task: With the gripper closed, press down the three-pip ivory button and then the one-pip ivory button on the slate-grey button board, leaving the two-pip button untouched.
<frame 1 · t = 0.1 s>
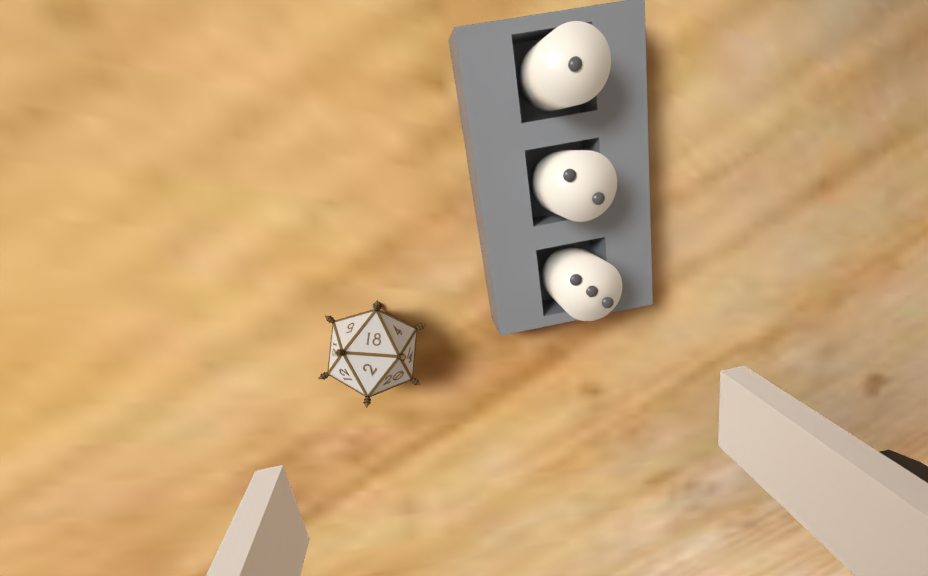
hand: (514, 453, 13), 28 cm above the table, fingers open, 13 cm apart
button board: (550, 179, 39), on the table
button 2: (571, 184, 34), point 5 cm above the table, slide at 0.0 cm
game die: (376, 331, 41), on the table
button 1: (562, 70, 31), point 5 cm above the table, slide at 0.0 cm
button 3: (579, 282, 36), point 5 cm above the table, slide at 0.0 cm
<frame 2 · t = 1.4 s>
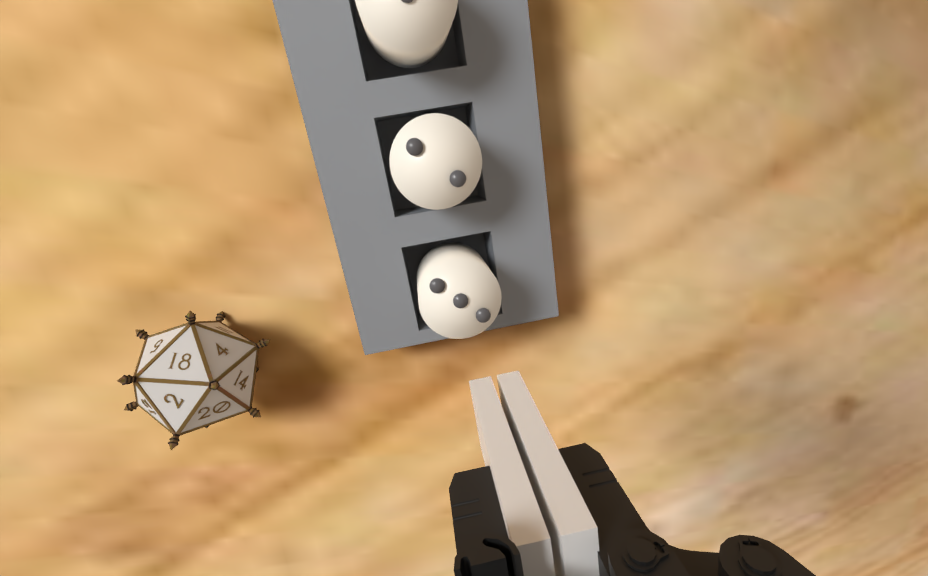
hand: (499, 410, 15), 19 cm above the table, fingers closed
button board: (429, 159, 31), on the table
button 2: (433, 161, 26), point 5 cm above the table, slide at 0.0 cm
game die: (223, 347, 33), on the table
button 1: (406, 7, 23), point 5 cm above the table, slide at 0.0 cm
button 3: (456, 288, 28), point 5 cm above the table, slide at 0.0 cm
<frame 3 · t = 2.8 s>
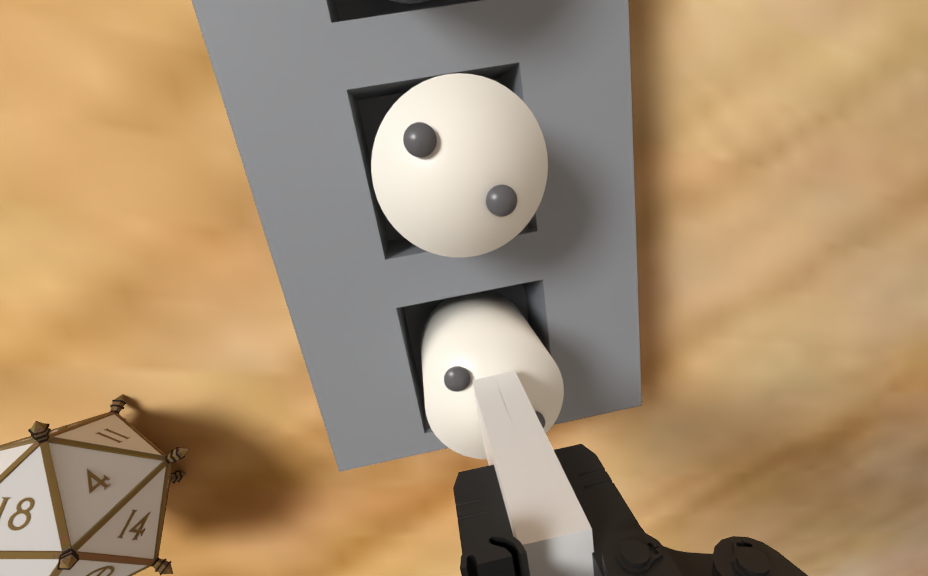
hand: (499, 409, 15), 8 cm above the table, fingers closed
button board: (440, 162, 20), on the table
button 2: (452, 167, 15), point 5 cm above the table, slide at 0.0 cm
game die: (129, 444, 22), on the table
button 3: (484, 367, 18), point 5 cm above the table, slide at 0.7 cm, touching gripper
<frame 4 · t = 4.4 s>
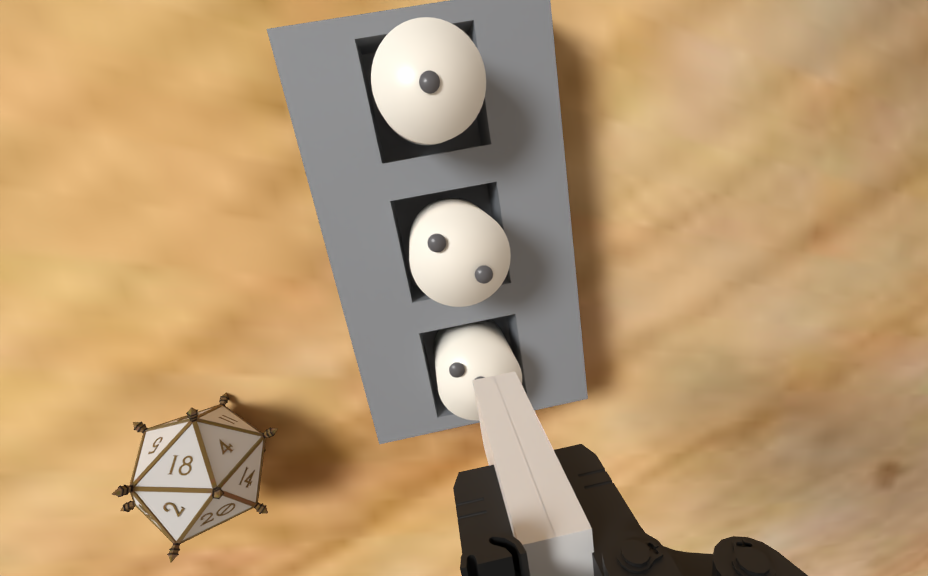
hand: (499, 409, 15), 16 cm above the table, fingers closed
button board: (447, 232, 29), on the table
button 2: (455, 248, 24), point 5 cm above the table, slide at 0.0 cm
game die: (227, 428, 31), on the table
button 1: (427, 90, 21), point 5 cm above the table, slide at 0.0 cm
button 3: (474, 364, 28), point 4 cm above the table, slide at 1.8 cm
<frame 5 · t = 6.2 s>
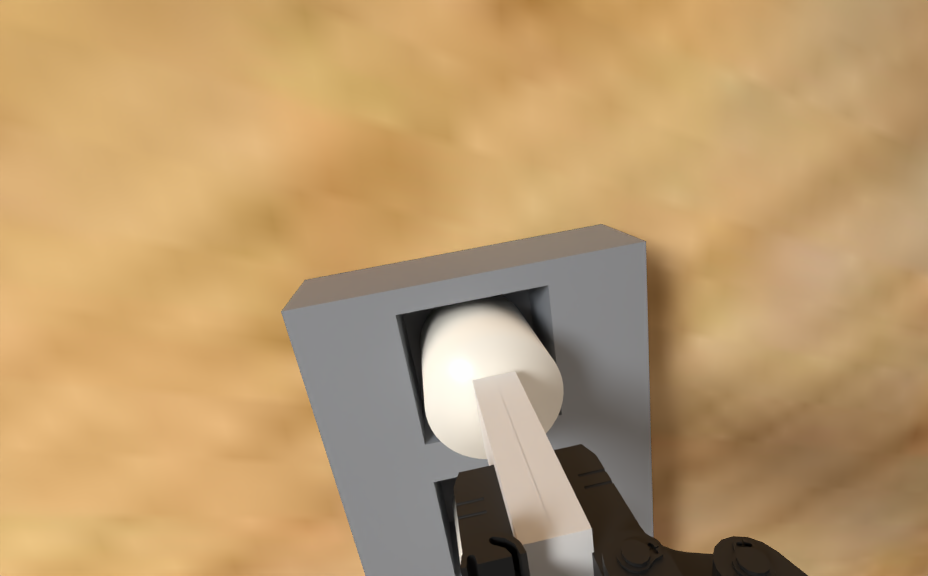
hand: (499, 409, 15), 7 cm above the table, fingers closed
button board: (492, 460, 24), on the table
button 2: (515, 544, 19), point 5 cm above the table, slide at 0.0 cm
button 1: (483, 367, 18), point 4 cm above the table, slide at 1.4 cm
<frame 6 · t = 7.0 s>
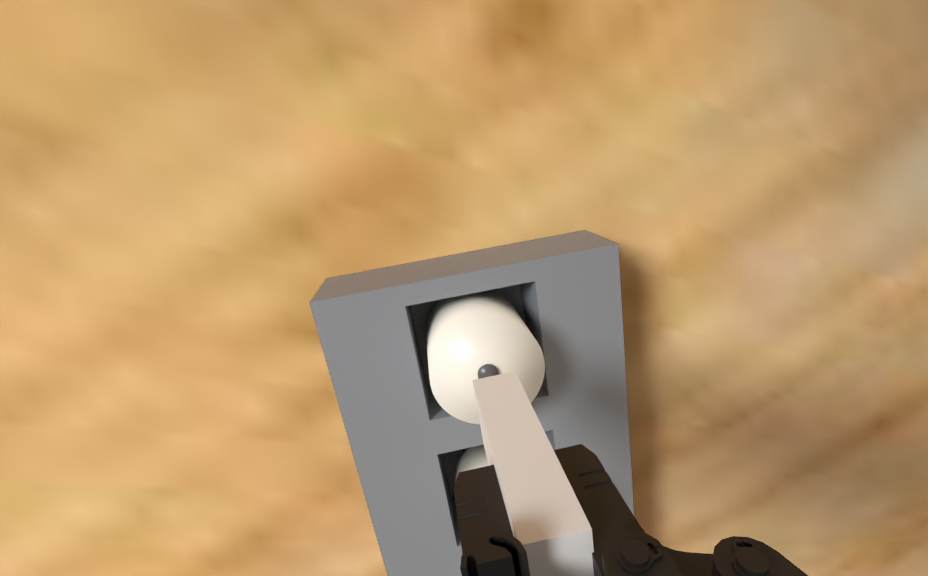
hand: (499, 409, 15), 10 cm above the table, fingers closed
button board: (490, 442, 27), on the table
button 2: (509, 509, 22), point 5 cm above the table, slide at 0.0 cm
button 1: (479, 349, 21), point 4 cm above the table, slide at 1.8 cm
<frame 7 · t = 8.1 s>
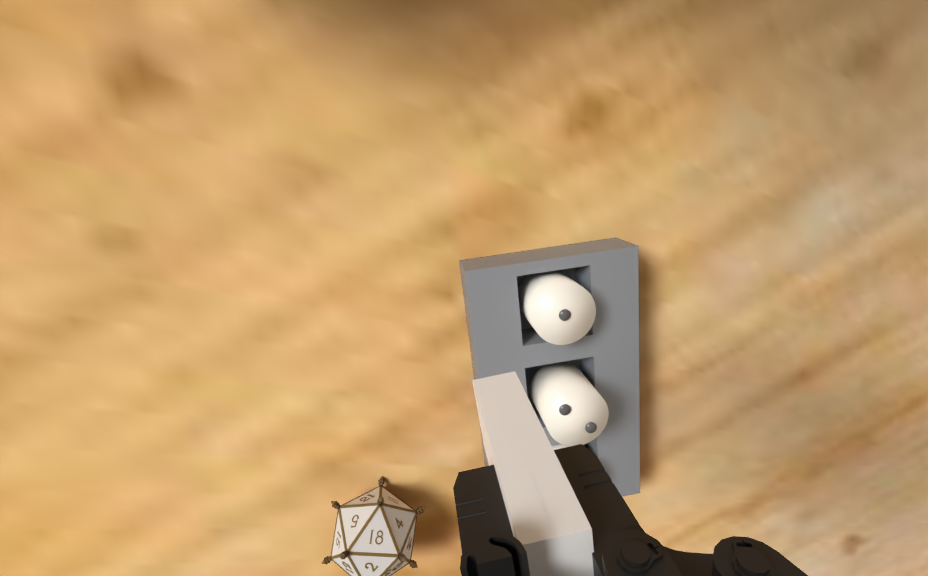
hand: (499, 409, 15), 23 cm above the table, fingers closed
button board: (547, 372, 41), on the table
button 2: (567, 402, 36), point 5 cm above the table, slide at 0.0 cm
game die: (378, 500, 43), on the table
button 1: (554, 304, 36), point 4 cm above the table, slide at 1.8 cm
button 3: (565, 468, 40), point 4 cm above the table, slide at 1.8 cm
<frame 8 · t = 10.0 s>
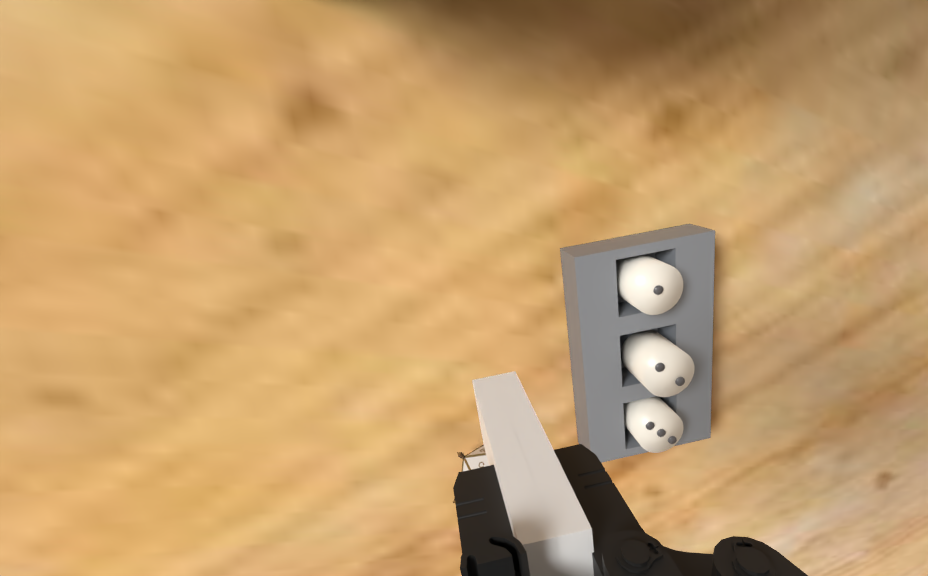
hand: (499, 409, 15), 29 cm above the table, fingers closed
button board: (630, 340, 49), on the table
button 2: (655, 362, 44), point 5 cm above the table, slide at 0.0 cm
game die: (486, 453, 52), on the table
button 1: (644, 282, 43), point 4 cm above the table, slide at 1.8 cm
button 3: (648, 419, 48), point 4 cm above the table, slide at 1.8 cm
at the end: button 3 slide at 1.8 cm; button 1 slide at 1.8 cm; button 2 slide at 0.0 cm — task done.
